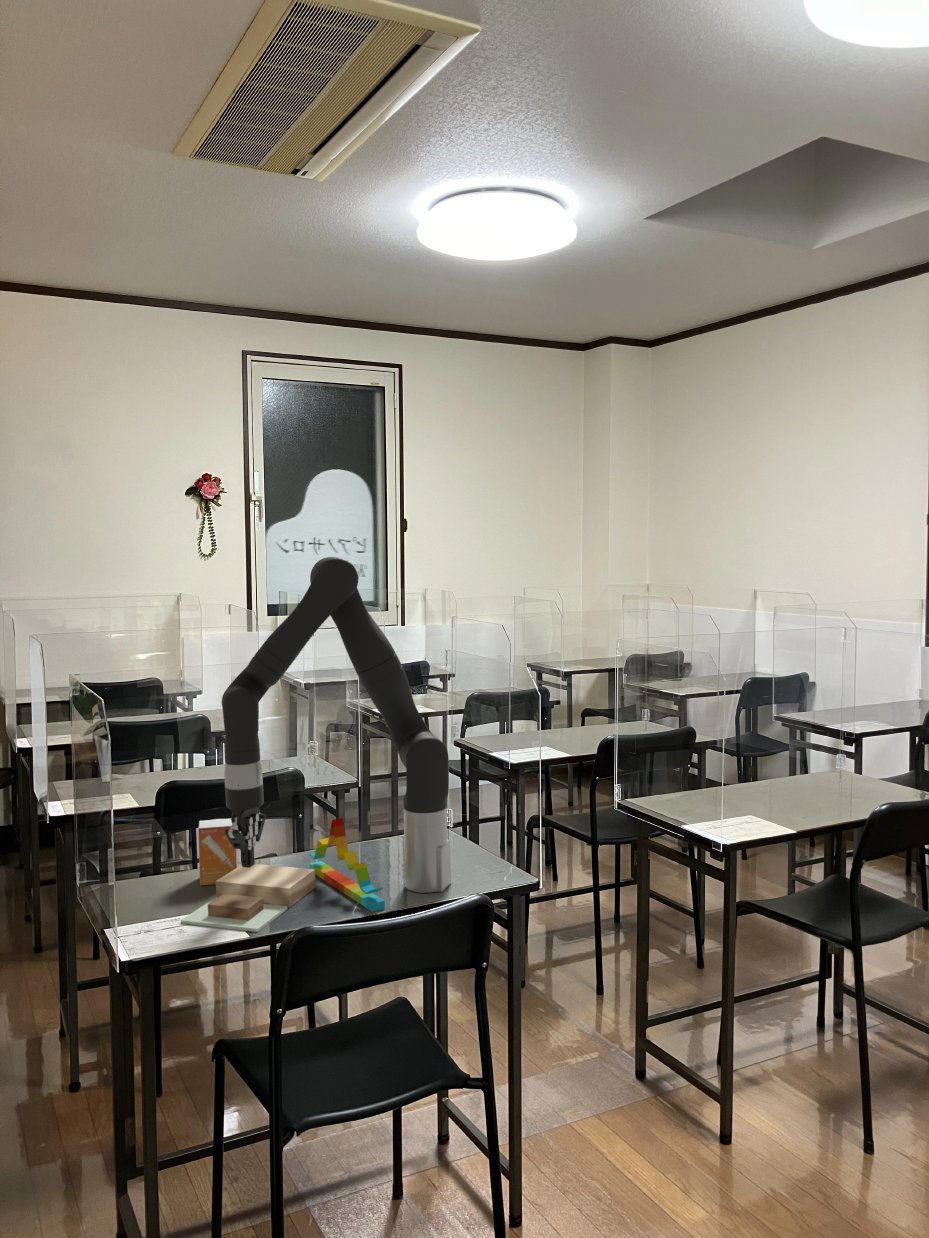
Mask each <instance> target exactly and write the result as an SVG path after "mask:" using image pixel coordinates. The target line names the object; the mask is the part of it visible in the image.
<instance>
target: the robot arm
mask: <svg viewBox="0 0 929 1238" xmlns="http://www.w3.org/2000/svg"><path fill="white" fill-rule="evenodd" d="M309 580H310V581H309V583H310V585H309V586H308V588H307V590H306V592H305V594H304V595H303V597H302V599H301V600H300V601H299V603H298V604H297V605H296V606H295V608H294V609H293V610H292V612H291V613H290V614H289V615H288V616H287V617H286V618H285V619H284V620H283V621H282V623H280V625H278V627H276V628H275V630H274V631H273V632H272V633H271V634H270V635H269V636H268V637H267V639H266V640H265V641H264V643H262V645H261V646H260V648H259V649H258V650H257V651H256V652H255V654H254V655H253V656H252V658H251V659H250V661H249V663H248V664H247V665H246V667H245V668H244V669H243V670H241V672H240V673H239V674H238V675H237V676H236V677H235V679H233V680H232V681H231V683H230V684H229V685H228V687H227V688H226V689H225V691H224V692H223V694H222V696H221V706H222V707H221V708H222V719H223V726H224V735H225V737H224V741H223V742H224V745H223V746H224V749H223V751H224V772H223V773H224V774H223V775H224V776H223V777H224V791H225V792H224V793H225V805H226V808H227V809H229V810H231V822H232V826H231V828H230V829H226V830H225V835H226V836H227V838H228V840H229V841H230V843H231V844H232V846H233V847H234V849H237V850H239V852H240V860H241V861H240V863H241V865H242V867H247V868H250V867H252V866H253V865H254V864H256V862H255V848H256V845H257V843H258V842H260V841H261V836H262V833H263V829H264V827H265V823H266V819H267V814H265V813H261V812H260V811H261V810H260V807H262V805H264V803H265V802H264V801H265V799H264V783H263V779H264V778H263V768H262V763H261V747H260V745H261V744H260V737H259V703H260V701H261V700H262V698H263V697H264V696H265V694H266V693H267V692H268V691H269V690H270V688H272V687H274V686H275V685H276V684H277V683H278V682H279V681H280V680H281V679H282V677H283V675H285V673H286V672H287V671H288V669H289V668H290V667H291V665H292V664H293V663H294V661H295V660H296V659H297V658H298V655H300V653H301V651H303V649H304V647H305V646H306V645H307V643H308V642H309V641H310V640H311V638H312V637H313V636H314V635H315V633H316V632H317V631H318V630H319V629H320V627H321V626H322V625H323V624H324V622H325V621H326V620H328V618H329V617H330V618H331V619H332V621H333V623H334V624H335V627H336V628H337V630H338V633H339V635H340V639H341V640H342V643H343V645H344V648H345V650H346V653H347V655H348V657H349V660H350V662H351V663H352V666H353V668H354V670H355V671H354V672H356V675H357V676H358V679H359V680H360V682H361V684H362V686H363V688H364V690H365V692H366V693H367V695H368V696H369V699H370V700H371V702H372V703H373V705H374V706H375V708H376V709H377V710H378V712H379V714H380V715H381V717H382V719H383V720H384V722H385V723H386V725H387V728H388V729H389V733H390V734H391V738H392V740H393V742H394V745H395V747H396V751H397V753H398V756H399V759H400V762H401V763H402V765H403V766H404V767H405V770H406V773H405V775H406V776H405V777H406V782H405V783H406V785H405V786H406V787H405V788H406V789H405V793H404V795H403V798H402V799H403V800H402V801H403V802H402V803H403V842H404V843H403V847H404V851H403V852H404V886H405V889H407V890H409V891H411V892H415V893H420V894H421V893H427V894H428V893H435V892H436V893H437V892H439V893H441V892H442V893H443V892H444V891H445V890H446V888H448V886H450V884H451V883H452V872H451V871H452V868H451V865H452V864H451V861H452V859H451V858H452V857H451V840H450V839H448V822H447V821H448V819H447V816H448V815H447V799H448V796H449V792H450V791H449V790H450V788H449V787H450V760H449V758H450V757H449V751H448V749H447V746H446V744H444V742H443V741H442V740H441V739H439V738H438V737H437V736H436V735H434V734H433V732H432V731H431V730H430V727H428V725H427V723H426V722H425V721H424V719H423V717H422V715H421V714H420V712H419V710H418V709H417V705H416V704H415V701H414V697H413V694H412V689H411V686H410V683H409V680H408V676H407V673H406V671H405V669H404V666H403V664H402V662H401V661H400V658H399V656H398V655H397V653H396V650H395V648H394V647H393V646H392V644H391V642H390V640H389V639H388V638H387V635H385V633H384V631H383V630H382V629H381V628H380V626H379V625H378V624H377V623H376V621H375V620H374V618H373V617H372V615H371V614H370V612H369V611H368V609H367V607H366V605H365V603H364V601H363V598H362V596H361V594H360V591H359V589H358V585H359V573H358V571H357V569H356V567H355V565H354V564H353V563H351V562H350V561H349V560H347V559H345V558H343V557H339V556H328V557H327V556H326V557H323V558H321V559H319V560H317V562H316V563H315V564H314V565H313V567H312V569H311V571H310V576H309Z"/></svg>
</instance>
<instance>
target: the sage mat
mask: <svg viewBox="0 0 929 1238" xmlns="http://www.w3.org/2000/svg"><path fill="white" fill-rule="evenodd" d="M215 899H216V898H212V899H211V900H210V901H208V902H206V903H204V904H203V905H202V906H201V907H198V909H195V910H194V911H193V912H192V913H190V914H188V915H187V916H185V917H183V918H182V919H181V920H180V923H181V924H186V925H194V926H200V927H202V926H203V927H211V928H219V929H220V928H221V929H229V930H236V931H237V930H238V931H246V932H253V933H258V932H260V931H261V930H263V929H264V928H265V927H266V926H268V925H269V924H270V923H271V922H273V921H274V920H275V919H277V918H278V917H279V916H281V915H282V914H283V913H285V912H286V911H287V910H288V907H287V906H278V905H268V904H263V910H262V911H261V912H259V913H258V914H257V915H255V916H254V917H253V918H251V919H250V920H249V921H248V920H239V919H230V918H220V917H211V916H208V904H209V903H211V902H212V901H214V900H215Z"/></svg>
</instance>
